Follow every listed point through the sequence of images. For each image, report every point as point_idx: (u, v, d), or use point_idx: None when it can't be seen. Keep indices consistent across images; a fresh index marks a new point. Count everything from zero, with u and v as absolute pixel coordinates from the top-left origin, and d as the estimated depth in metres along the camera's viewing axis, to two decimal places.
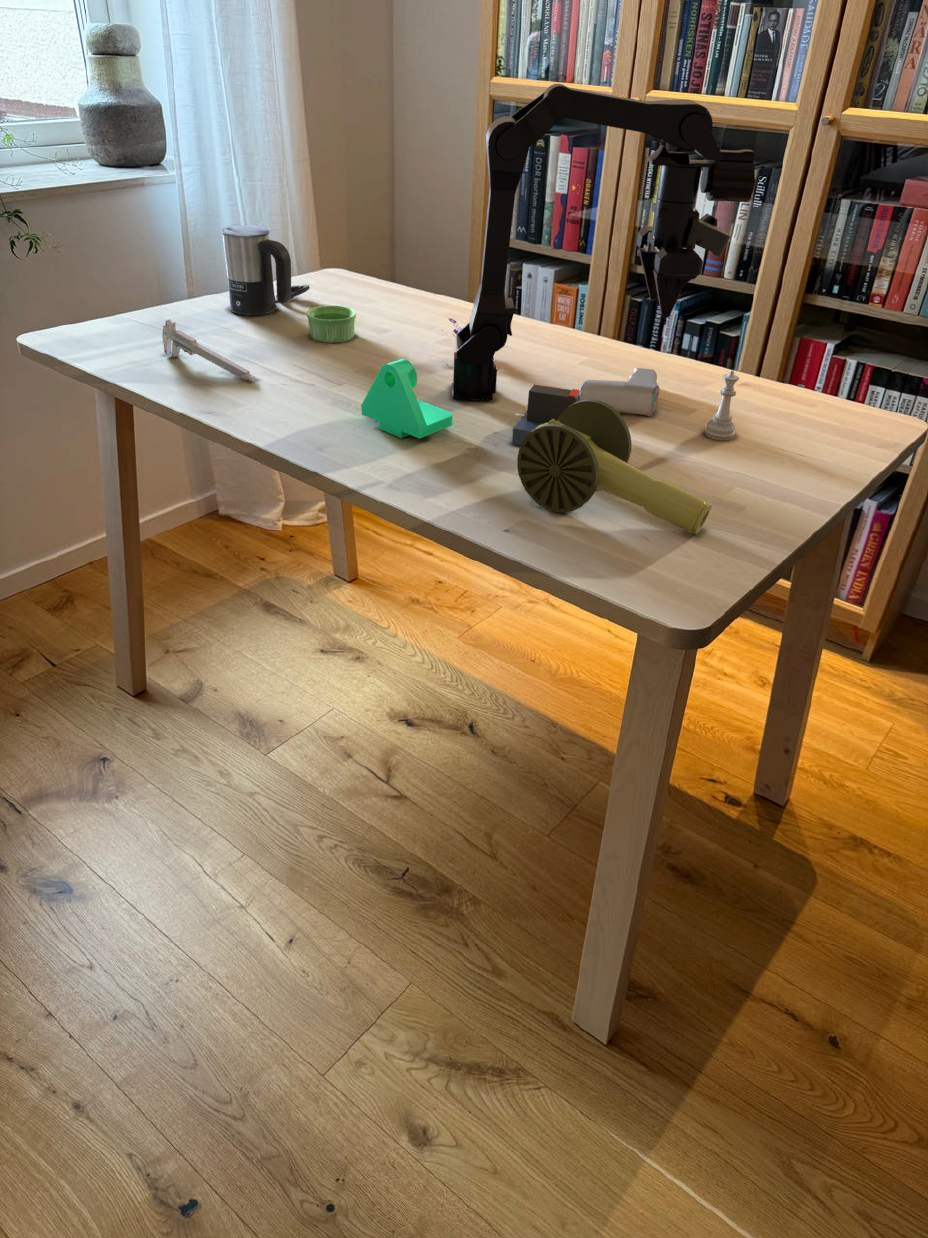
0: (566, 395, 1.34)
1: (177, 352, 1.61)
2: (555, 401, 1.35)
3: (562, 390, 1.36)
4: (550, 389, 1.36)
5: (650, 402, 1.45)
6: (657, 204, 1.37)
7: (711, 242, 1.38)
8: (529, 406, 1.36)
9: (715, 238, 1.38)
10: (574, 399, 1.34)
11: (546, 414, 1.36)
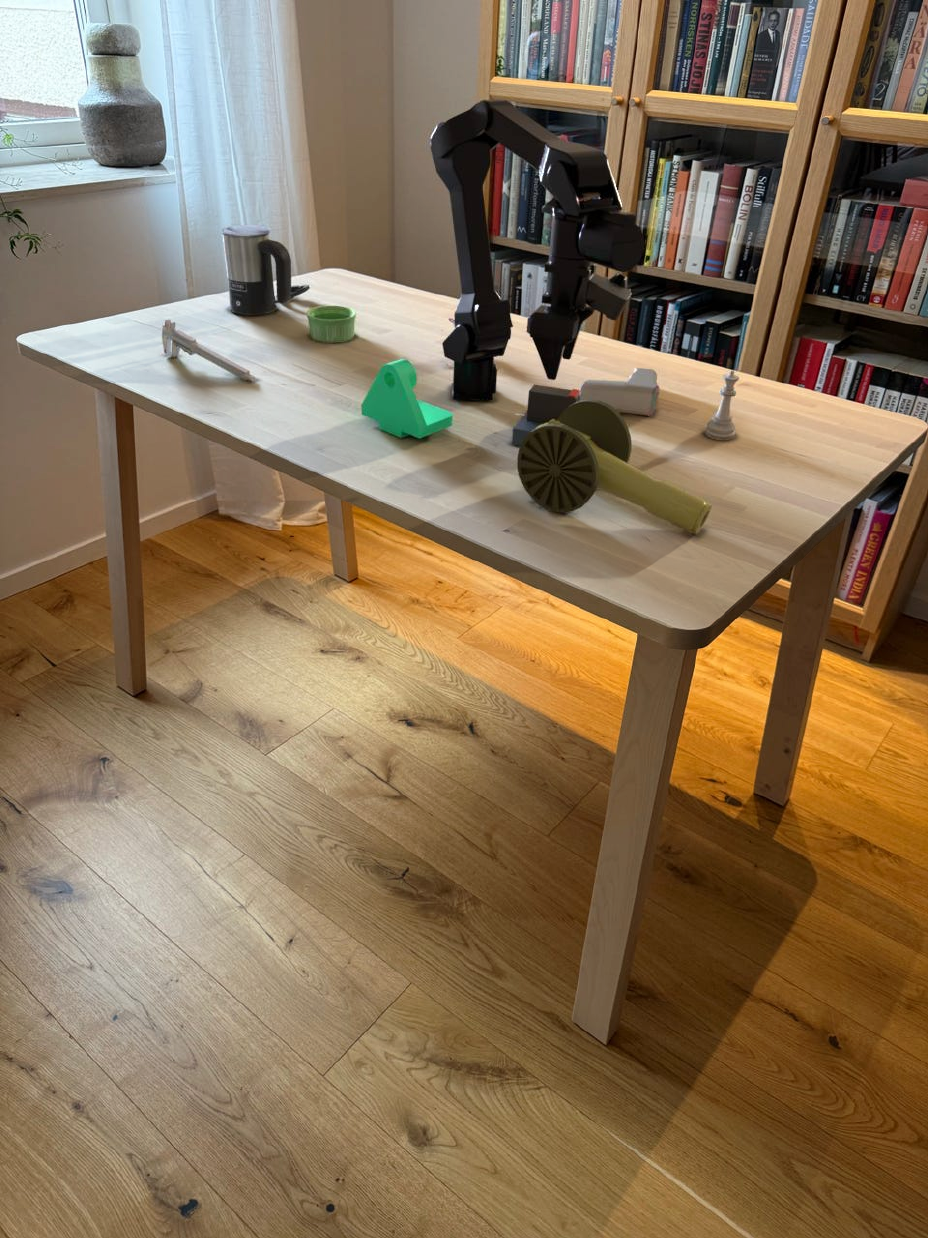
0: (566, 395, 1.34)
1: (177, 352, 1.61)
2: (555, 401, 1.35)
3: (562, 390, 1.36)
4: (550, 389, 1.36)
5: (650, 402, 1.45)
6: (549, 258, 1.26)
7: (603, 304, 1.25)
8: (529, 406, 1.36)
9: (607, 300, 1.25)
10: (574, 399, 1.34)
11: (546, 414, 1.36)
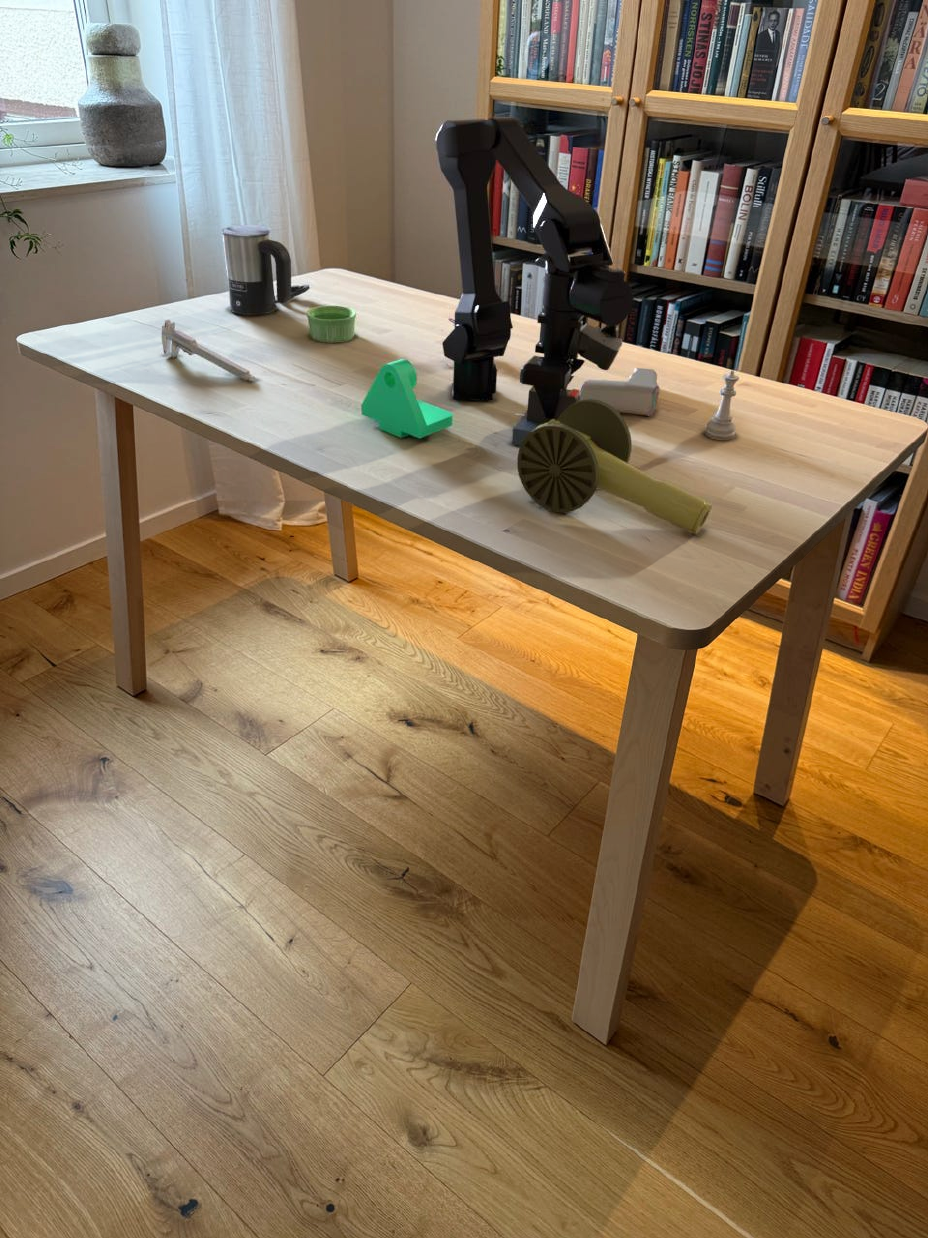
0: (566, 395, 1.34)
1: (176, 352, 1.61)
2: None
3: (562, 390, 1.36)
4: None
5: (650, 402, 1.45)
6: (542, 309, 1.29)
7: (595, 354, 1.28)
8: (529, 406, 1.36)
9: (599, 351, 1.28)
10: (574, 399, 1.34)
11: None
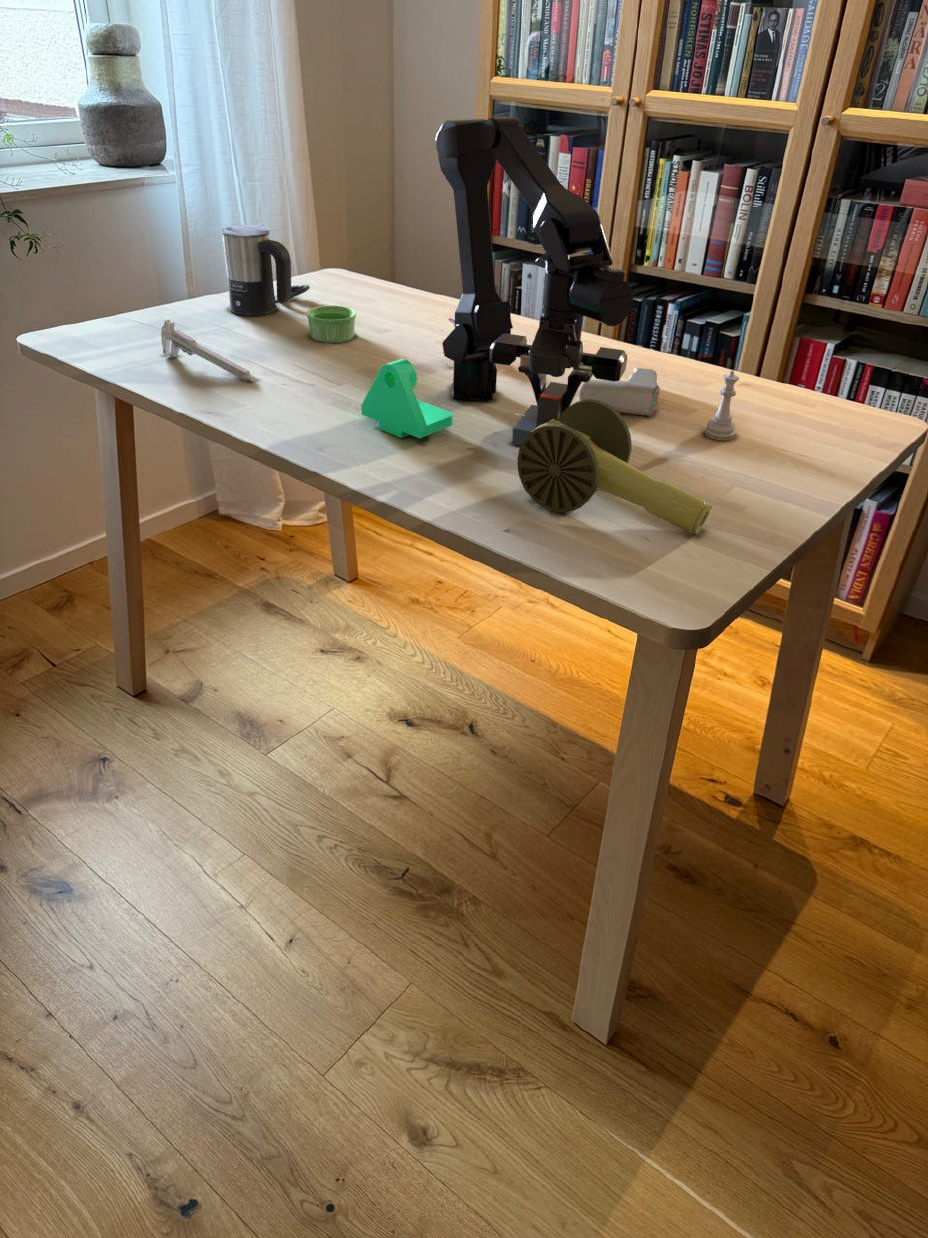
0: (543, 394, 1.34)
1: (176, 352, 1.60)
2: None
3: (558, 394, 1.35)
4: (557, 389, 1.36)
5: (650, 402, 1.45)
6: None
7: None
8: None
9: None
10: None
11: None
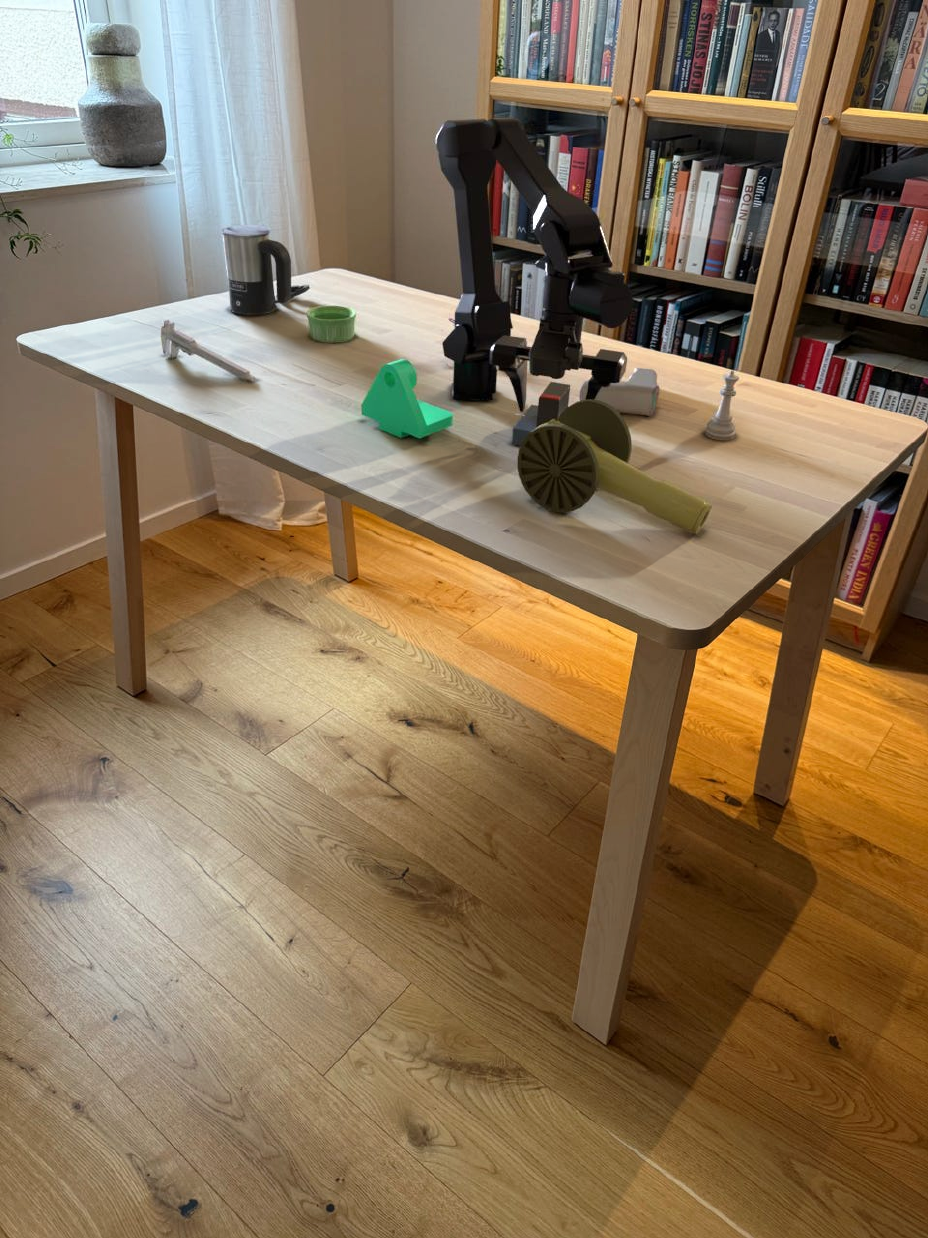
0: (543, 394, 1.34)
1: (176, 352, 1.60)
2: None
3: (558, 394, 1.35)
4: (557, 389, 1.36)
5: (650, 402, 1.45)
6: None
7: None
8: None
9: None
10: None
11: None
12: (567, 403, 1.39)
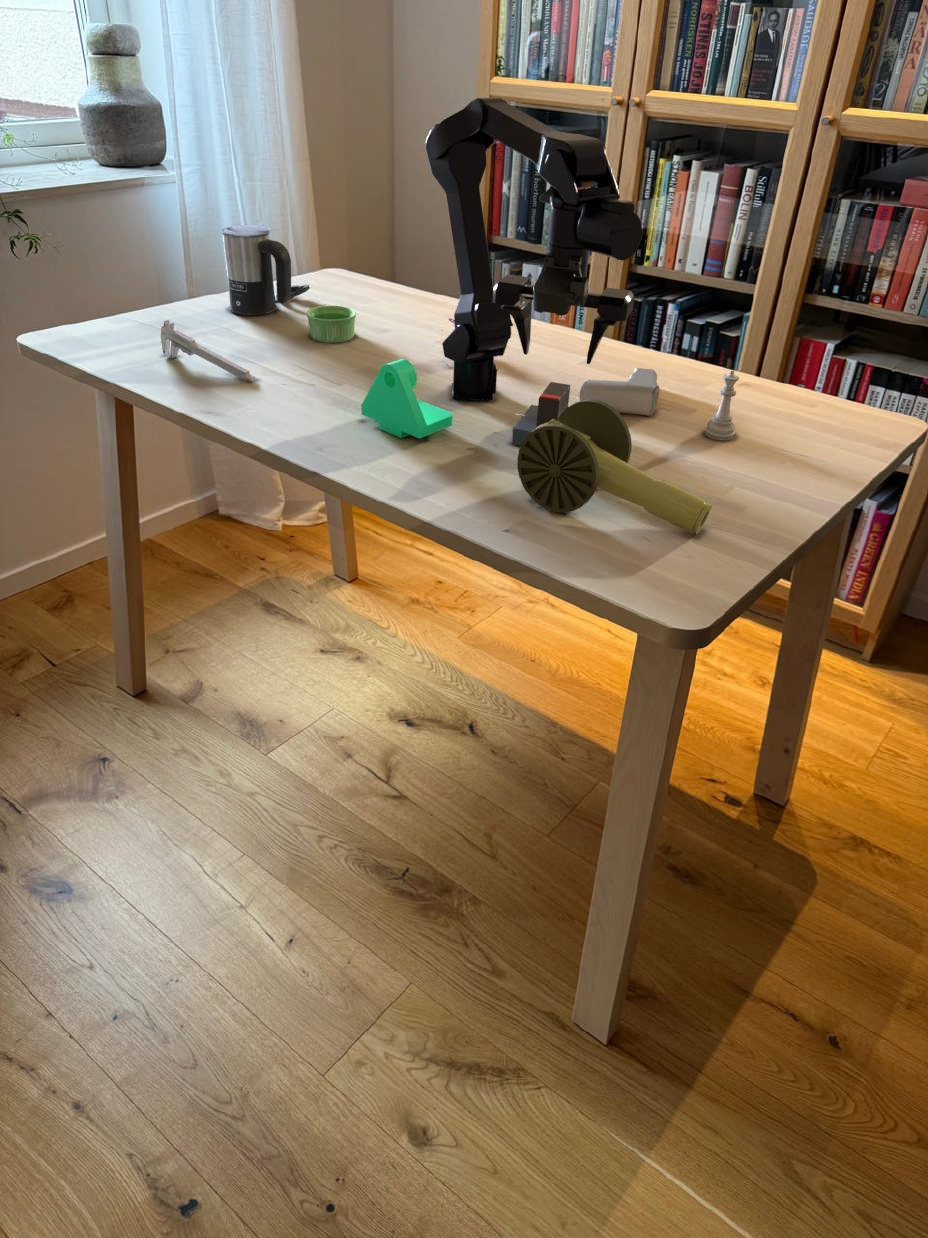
0: (543, 394, 1.34)
1: (176, 353, 1.60)
2: None
3: (558, 394, 1.35)
4: (557, 389, 1.36)
5: (650, 402, 1.45)
6: None
7: None
8: None
9: None
10: None
11: None
12: (567, 403, 1.39)
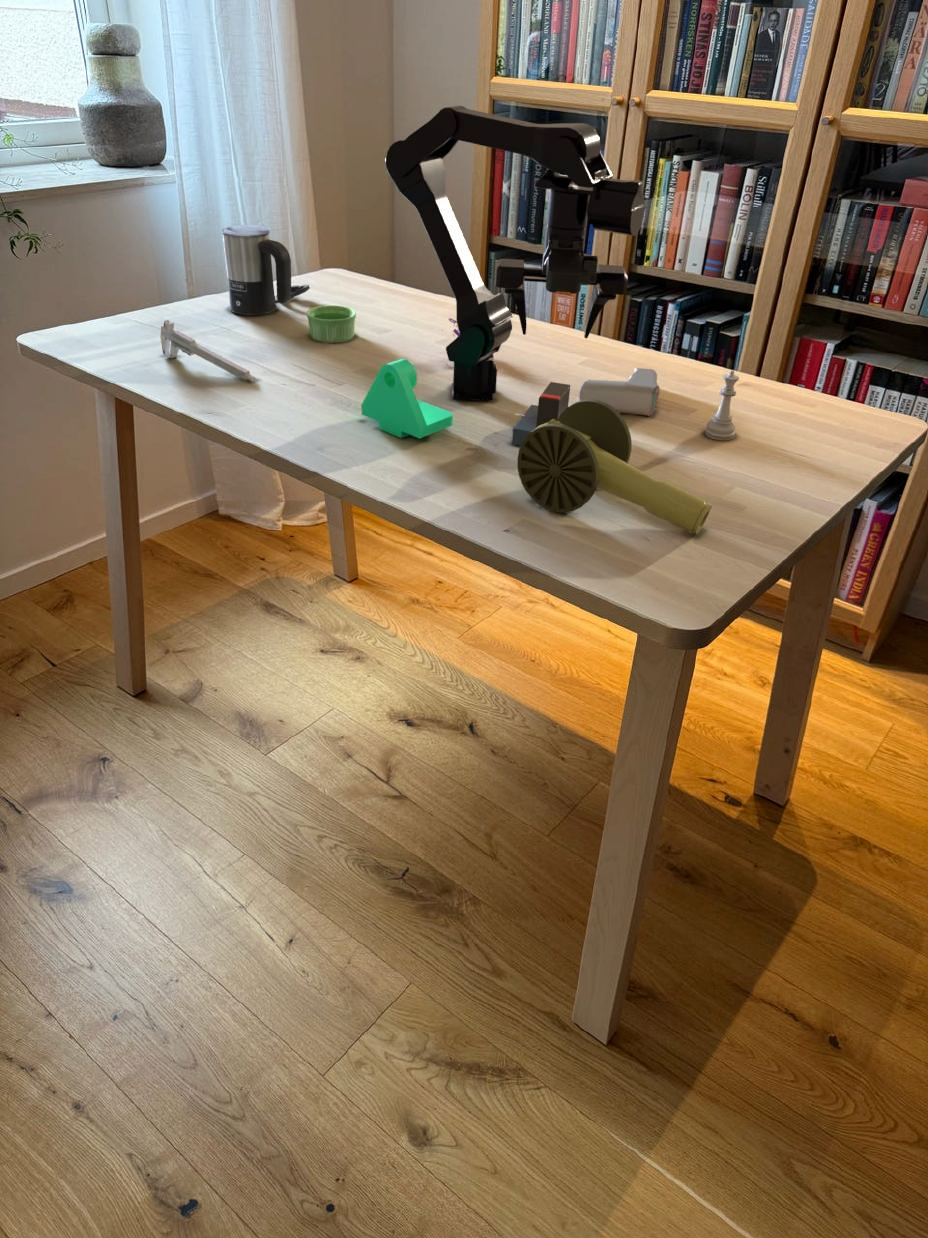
0: (543, 394, 1.34)
1: (175, 353, 1.60)
2: None
3: (558, 394, 1.35)
4: (557, 389, 1.36)
5: (650, 402, 1.45)
6: None
7: None
8: None
9: (547, 269, 1.30)
10: None
11: None
12: (567, 403, 1.39)
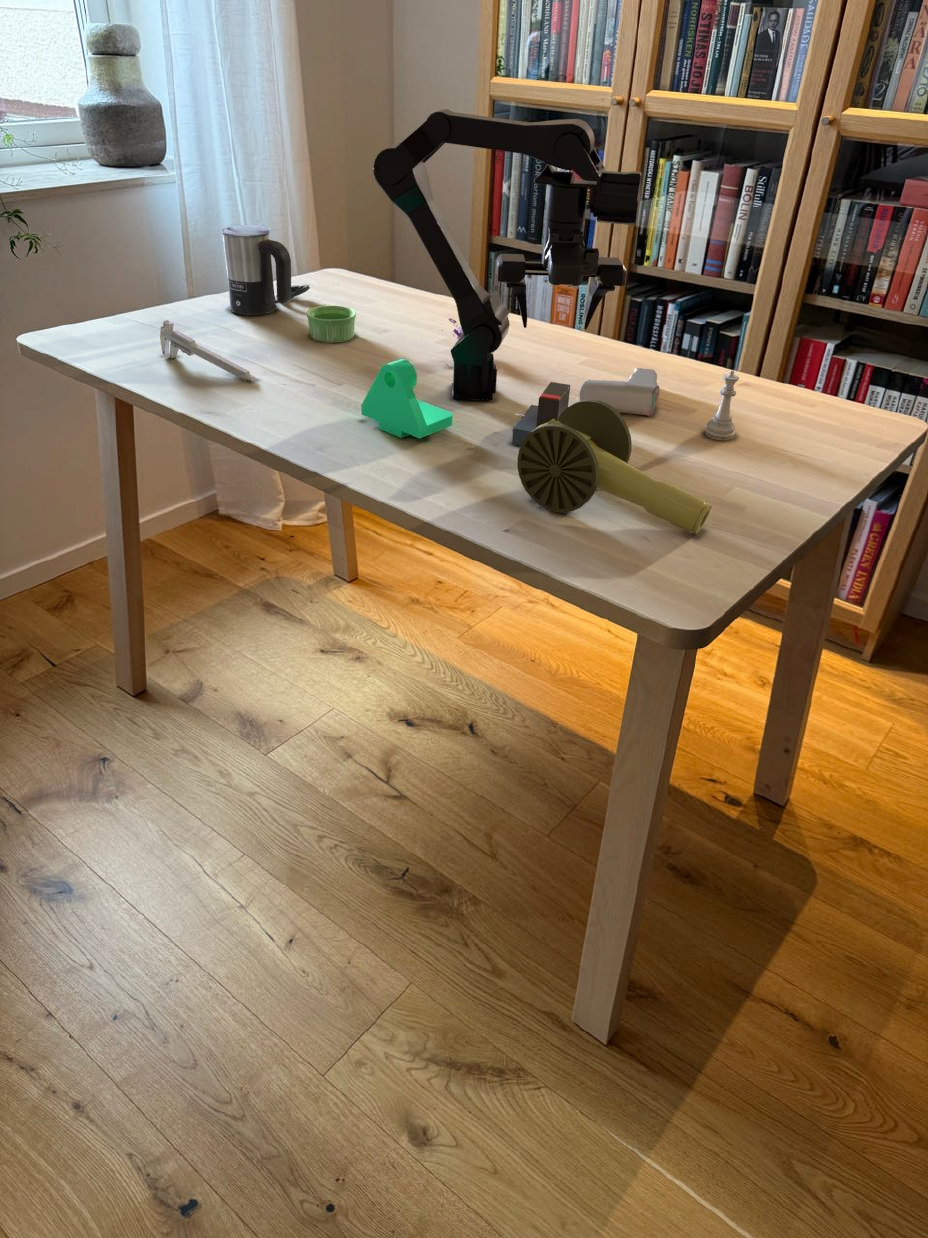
0: (543, 394, 1.34)
1: (175, 353, 1.60)
2: None
3: (558, 394, 1.35)
4: (557, 389, 1.36)
5: (650, 402, 1.45)
6: None
7: (548, 266, 1.33)
8: None
9: (549, 262, 1.33)
10: None
11: None
12: (567, 403, 1.39)
